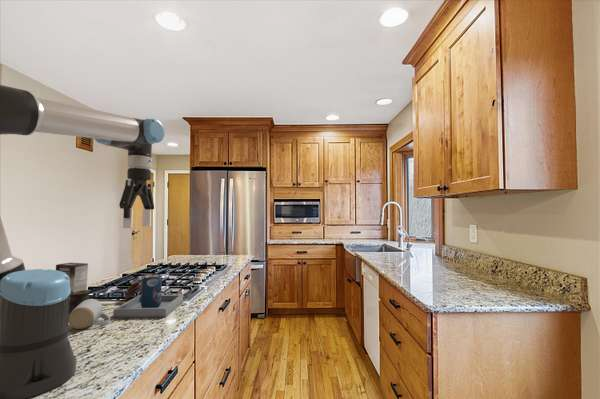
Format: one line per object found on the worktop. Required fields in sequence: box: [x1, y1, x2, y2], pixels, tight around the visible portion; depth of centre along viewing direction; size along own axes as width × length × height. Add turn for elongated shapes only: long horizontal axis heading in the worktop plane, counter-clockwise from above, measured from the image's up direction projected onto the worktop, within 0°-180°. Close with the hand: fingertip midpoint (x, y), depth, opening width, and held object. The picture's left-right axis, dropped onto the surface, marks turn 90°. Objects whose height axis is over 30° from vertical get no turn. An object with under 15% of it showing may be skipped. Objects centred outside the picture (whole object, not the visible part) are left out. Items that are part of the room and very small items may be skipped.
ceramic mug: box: [68, 298, 111, 330], centre depth 96 cm, size 11×8×8 cm
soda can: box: [140, 273, 163, 308], centre depth 112 cm, size 7×7×12 cm
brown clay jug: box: [123, 281, 142, 301], centre depth 126 cm, size 12×10×8 cm
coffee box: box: [55, 262, 89, 298], centre depth 119 cm, size 9×6×16 cm
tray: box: [112, 294, 184, 319], centre depth 112 cm, size 18×18×3 cm
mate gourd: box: [69, 289, 91, 315], centre depth 107 cm, size 7×8×10 cm
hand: (137, 227), depth 105 cm, fingers open, 13 cm apart
